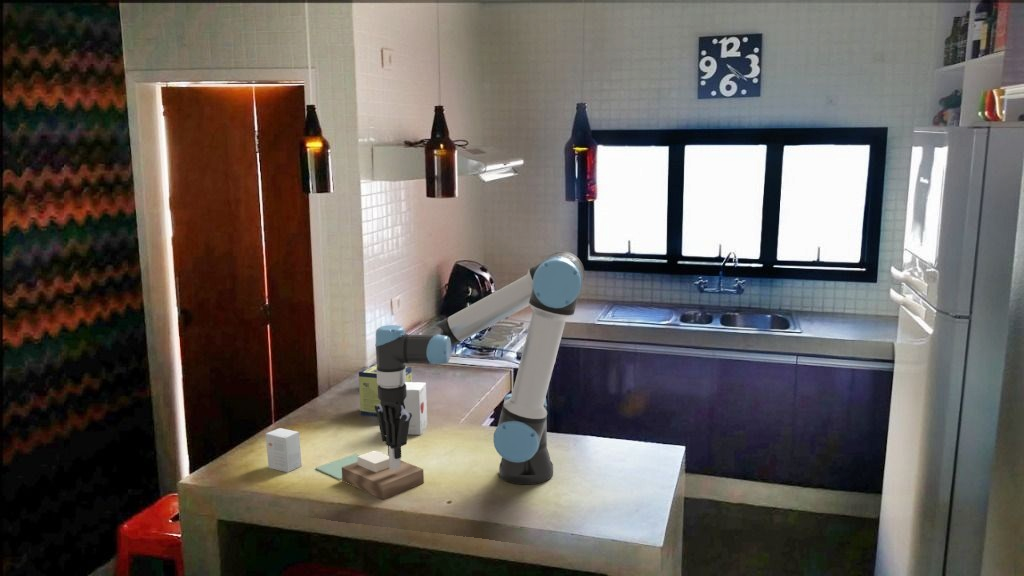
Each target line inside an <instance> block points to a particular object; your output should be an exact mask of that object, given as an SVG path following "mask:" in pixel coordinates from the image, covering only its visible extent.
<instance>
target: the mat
mask: <svg viewBox="0 0 1024 576" xmlns="http://www.w3.org/2000/svg"><path fill="white" fill-rule="evenodd" d="M357 456H360V454H357V453H354V454H351V455H348V456H345V457H342V458H340V459H337V460H333V461H331V462H329V463H326V464H322V465H319V466H316V467H315V470H316V471H319V472H321V473H323V472H324V473H323V474H325V473H326V475H328V476H330V475H331V476H330V477H333V478H334V477H335V478H334V479H337V480H339V479H340V480H339V481H342V480H341V479H342V467H344V466H347V465H350V464H353V463H355V462H358V458H357Z"/></svg>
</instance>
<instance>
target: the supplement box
mask: <svg viewBox="0 0 1024 576" xmlns="http://www.w3.org/2000/svg"><path fill="white" fill-rule="evenodd" d="M405 384H406V393H407V396H406V398H405V400H404V405H405V410H406V412H407V413H411V414H412V417H411V419H410V422H409V429H408V435H415V436H421V435H422V434H423V432H424V431H425V430H426V428H427V427H428V409H427V383H426V382H418V381H416V382H414V381H412V382H405Z"/></svg>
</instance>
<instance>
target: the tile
mask: <svg viewBox="0 0 1024 576" xmlns="http://www.w3.org/2000/svg"><path fill="white" fill-rule="evenodd" d="M359 455H360V454H359ZM357 458H358V465H359V466H361V467H364V468H366V469H369V470H371V471H373V472H378V471H381V470H384V469H386V468H389V456H388V454H386V455H385V453H384V452H381V451H378V450H372V451H370V452H366V453H363V454H361V455H360V456H357Z"/></svg>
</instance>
